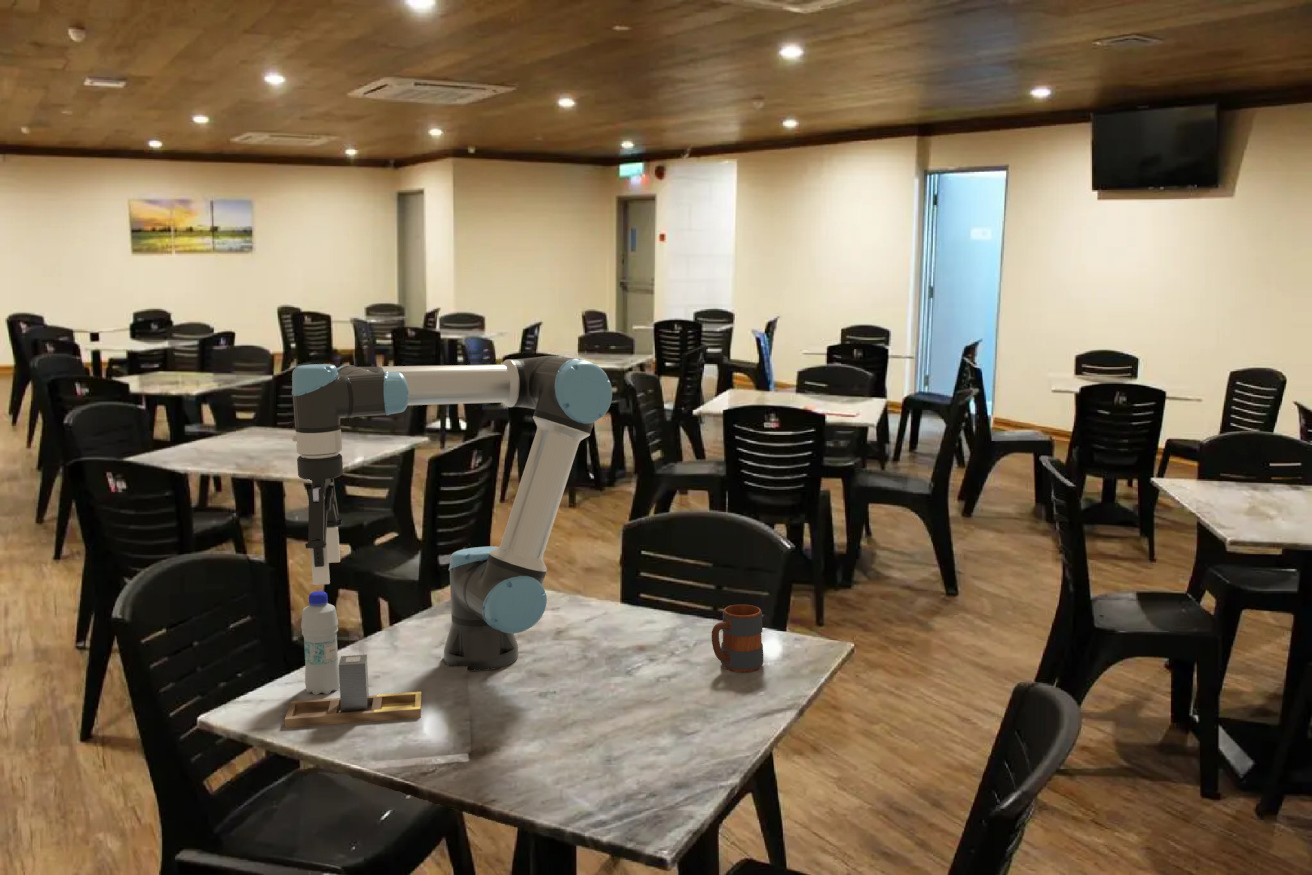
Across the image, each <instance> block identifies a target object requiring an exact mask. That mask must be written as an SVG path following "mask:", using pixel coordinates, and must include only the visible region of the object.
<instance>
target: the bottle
mask: <svg viewBox="0 0 1312 875" xmlns="http://www.w3.org/2000/svg"><path fill="white" fill-rule="evenodd" d="M328 600H329V599H328V593H327V592H325V591H323V590H317V591H312V592H310V594H309V595H308V604H309V605H307V606H306V607H304V608H303V609H302V615H301V625H300V627H301V635H302V636H303V641H304V642H303V644H304V660H305V661H304V663H305V667H304V668H305V669H304V671H305V672H304V674H305V675H304V684H305V690H306V692H307V693H312V694H313V695H315V696H317V695H320V694H322V693H323V694H324V695H327V694H328V695H329V694H330V693H331V692H332V691H333V692H334V691H336V692H337V691H338V690H339V689H340V682H339V656H338V655H339V653H338V652H339V651H338V631H339V627H338V626H339V621H338V620H339V619H338V615H337V610H336V607H335V605H333V604H331V603H329V601H328Z"/></svg>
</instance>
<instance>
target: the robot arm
mask: <svg viewBox="0 0 1312 875" xmlns="http://www.w3.org/2000/svg"><path fill="white" fill-rule="evenodd" d="M291 376H292V377H291V381H292V382H291V383H292V384H291V385H292V386H291V388H292V390H291V395H292V403H293V404H292V405H293V414H294V416H293V417H294V429H295V435H293V436H292V438H291V439H292V441H293V442H296V453H297V454H298V455H299V456H298V457H297V458H296V462H297V475H298V478H299V479H302V480H309V481H311V486H310V488H308V490H307V495H308V520H307V522H308V527H307V528H308V531H307V536H308V537H307V540H308V541H307V543H305V549H310V559H311V560H310V561H311V563H310V564H311V577H312V585H313V586H315V585H318V586H319V585H330V583H331V581H330V580H331V578H330V564H331V563H335V564H336V563H340V562H341V557H340V556H341V554H340V553H341V552H340V535H339V526H342V525H343V519H339V518H340V515H339V508H338V502H337V496H336V489H335V488H336V486H335V479H336V478H339V477H341V476H342V475H343V474H344V466H343V464H344V462H343V455H342V454H341V453H340V452H341V451H342V450H343V444H342V443H343V442H342V428H341V419H348V418H356V417H357V418H359V417H369V416H371V417H372V416H385V415H386V416H390V415H393V414H394V415H395V414H399V413H401V414H402V413H404V412H405V411H406V409H407V408H408V406H423V405H424V406H425V405H427V406H429V405H432V406H433V405H458V404H461V405H464V404H491V403H492V404H494V403H502V404H503V405H505V407H507V408H527V409H532V410H534V412H533V416H532V419H533V421H534V423H535V425H536V432H535V436H534V438H533V441H532V444H531V446H530V447H531V448H530V450H529V454H528V457H527V461H526V463H525V467H524V469H523V472H522V476H521V479H520V481H519V485H518V488H517V491H516V494H515V498H514V501H513V503H512V508H511V509H510V513H509V517H508V519H507V522H506V523H507V524H506V526H505V529H504V533H503V535H502V538H501V542H500V543H499V546H495V545H494V546H489V545H488V546H478V547H476V546H475V547H469V548H463V549H459V550H456V551H454V552H453V553H452V554H451V555H450V557H449V567H448V571H449V587H450V588H449V589H450V592H449V593H450V609H451V610H450V612H451V624H450V627H449V631H448V634H447V638H446V641H445V645H444V647H443V661H444V663H445V664H446V665H447V666H448V667H451V668H452V667H455V668H456V667H465V668H466V667H467V668H466V670H467V671H489V670H494V669H496V670H497V669H499V668H502V667H506V666H508V665H510V664H513V663H515V661H516V660H517V659H518V658H519V645H518V641H517V639H516V636H515V634H520V633H524V632H526V631H527V630H529V629H530V628H532V627H534V626H535V625H536V624H537V623H538V622H539V621H540V620H541V618H542V617H543V615H544V613H545V611H546V608H547V601H548V597H547V593H546V590H545V587H544V585H543V583H544V581H545V577H546V575H547V572H548V568H547V566H546V564H545V562H544V554H545V551H546V548H547V546H548V543H549V540H550V539H549V538H550V537H551V536H550V535H551V533H552V530H553V527H554V523H555V520H556V517H557V514H558V511H559V508H560V506H561V501H562V498H563V495H564V493H565V492H564V491H565V488H566V486H567V483H568V480H569V476H570V473H571V470H572V466H573V463H574V460H575V457H576V454H577V451H578V448H579V444H580V443H581V441H583V440H584V439H586V438H588V437H589V436H591V433H592V429H593V427H594V424H595V422H597V421H599V420H600V419H601V418H603V417H604V416H606V414H607V413H608V411H609V409H610V407H611V404H612V399H613V387H612V383H611V381H610V379H609V377H608V375H607V373H606V372H605V370H603V369H602V368H601V367H600V365H599V366H598V365H597V364H595V363H593V362H591V361H588V360H587V359H581V358H574V357H573V358H572V357H565V356H560V355H544V356H538V357H527V358H517V359H514V358H513V359H512V358H511V359H505V360H504V361H502V363H501V364H467V365H466V364H463V365H462V364H460V365H456V364H455V365H454V364H453V365H452V364H451V365H405V366H403V365H397V366H396V365H394V366H393V365H392V366H391V365H390V366H356V365H354V364H353V365H352V364H351V365H340V366H338V367H336V365H335V364H329V363H323V364H322V363H319V364H318V363H317V364H316V363H315V364H314V363H313V364H302V365H298V366H296V367H294V369H293V370H292V374H291Z"/></svg>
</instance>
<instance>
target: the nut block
mask: <svg viewBox="0 0 1312 875" xmlns="http://www.w3.org/2000/svg"><path fill="white" fill-rule="evenodd" d="M338 666H339V682H340V684H339V695H340V696H339V698H340V702H341V713H346V712H359V711H369V696H370V691H369V689H370V688H369V671H368V670H369V669H368V668H369V667H368V654H356V655H355V654H353V655H341V656H340V659H339V661H338Z"/></svg>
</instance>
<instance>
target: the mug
mask: <svg viewBox="0 0 1312 875" xmlns="http://www.w3.org/2000/svg"><path fill="white" fill-rule="evenodd" d="M720 631H722V642H720ZM762 633H763V611H762V609H761V608H760V607H758V606H755V605H751V604H733V605H728V606H726V607H725V608H724V609H723V611H722V621H720V622H718V623H716V624H714V626H713V627H712V630H711V644H712V650H713V651H714V654H715V657H716V658H717V660H719V661H720V663H721V665H722V667H723V668H724V669H725V670H727V671H730V672H734V673H741V674H742V673H752V672H756V671H758V670H759V669H760V668H762V665H763V664H764V646H763V642H762Z"/></svg>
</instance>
